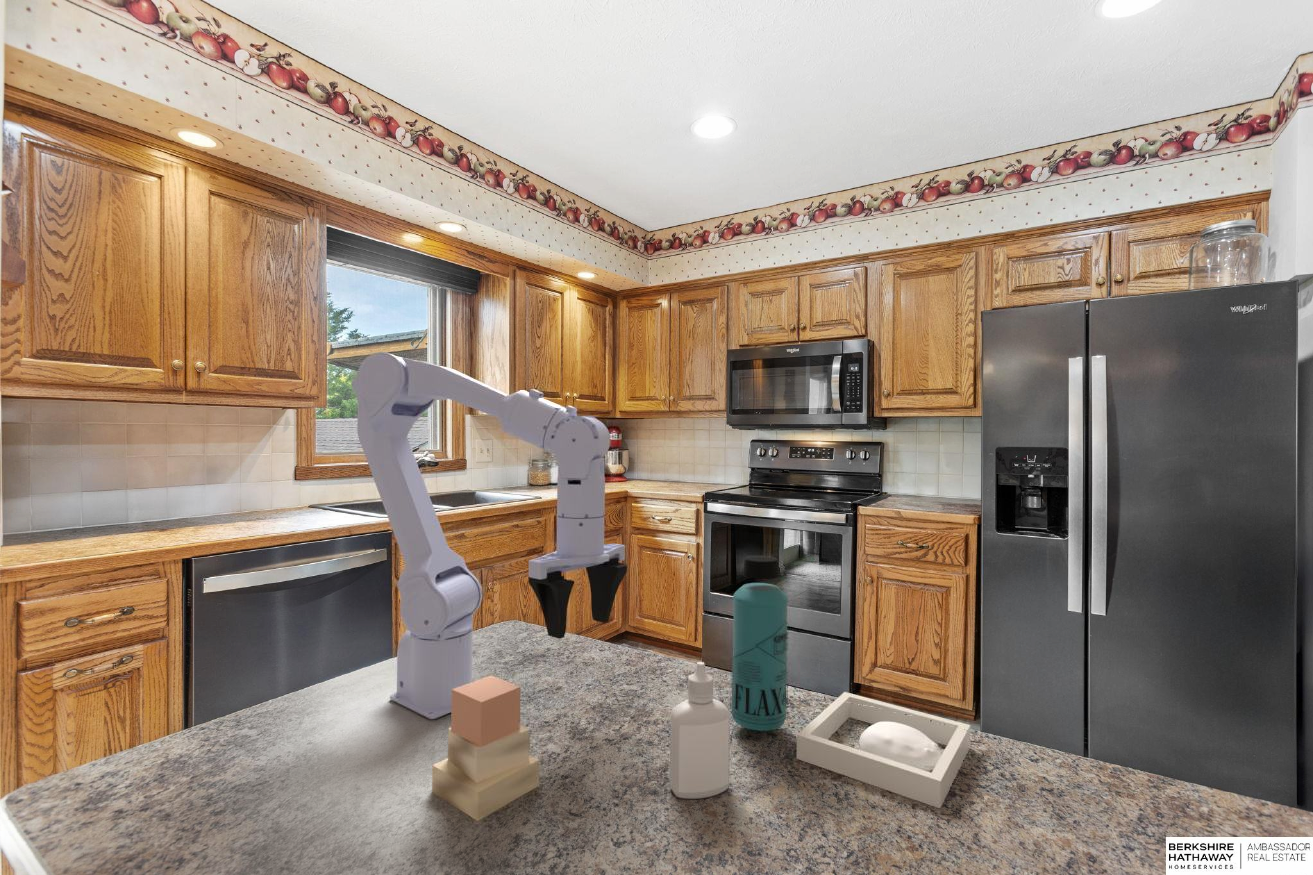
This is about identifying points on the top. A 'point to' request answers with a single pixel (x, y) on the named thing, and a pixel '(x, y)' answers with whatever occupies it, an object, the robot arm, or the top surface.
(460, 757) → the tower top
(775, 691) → the beverage bottle
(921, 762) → the white rounded lump
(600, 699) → the top surface
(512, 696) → the terracotta block
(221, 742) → the top surface
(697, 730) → the eye dropper bottle
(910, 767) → the garlic dish
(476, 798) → the tower base
